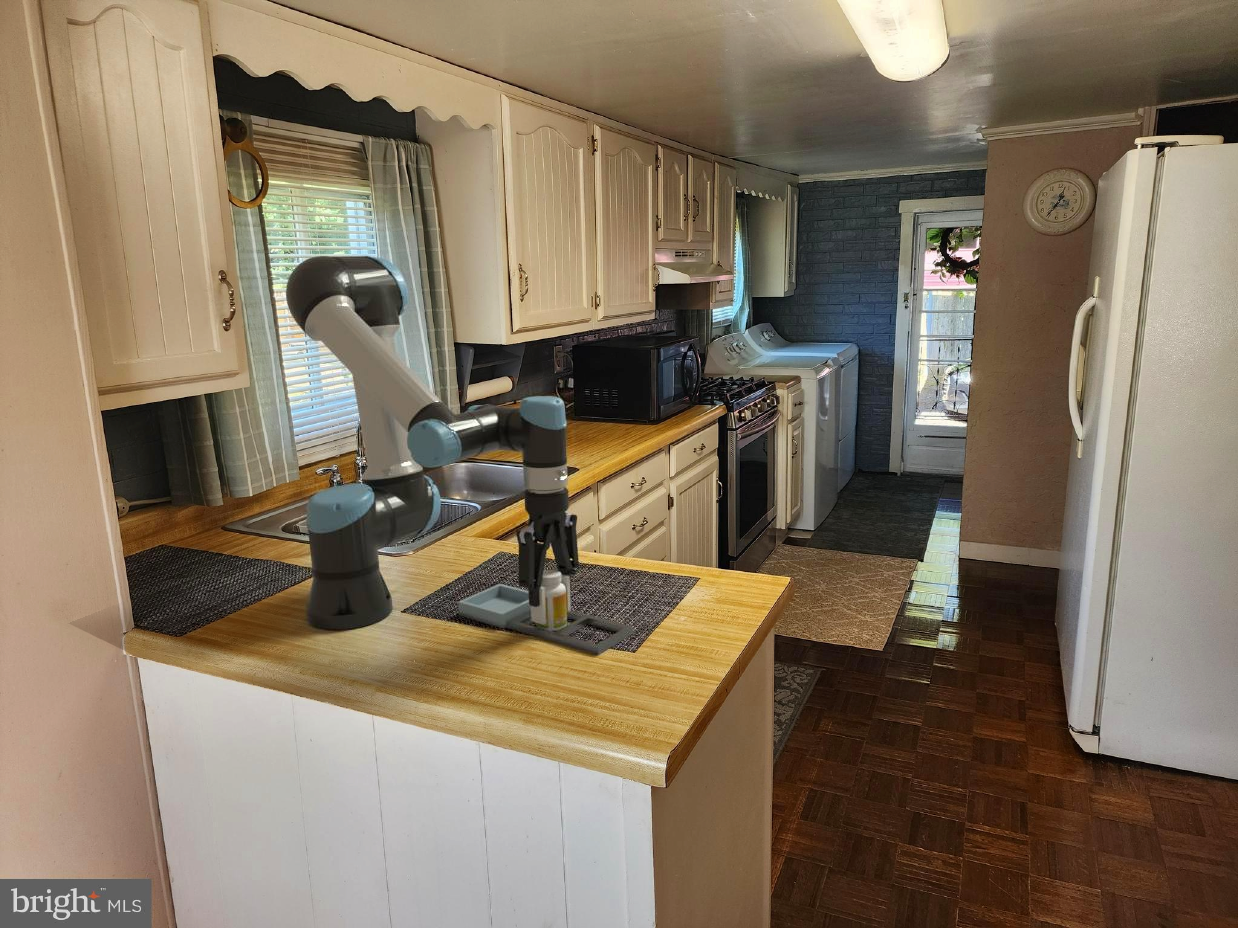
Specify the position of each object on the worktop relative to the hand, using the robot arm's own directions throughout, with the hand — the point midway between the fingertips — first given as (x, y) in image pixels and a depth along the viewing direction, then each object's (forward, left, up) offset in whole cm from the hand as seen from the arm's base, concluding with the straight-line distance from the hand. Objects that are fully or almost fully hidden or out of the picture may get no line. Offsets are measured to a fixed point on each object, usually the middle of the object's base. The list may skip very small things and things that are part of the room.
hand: (551, 615), depth 149 cm
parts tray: (0, +12, -2) cm, 12 cm away
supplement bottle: (0, 0, -2) cm, 2 cm away
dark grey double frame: (0, -4, -2) cm, 4 cm away
